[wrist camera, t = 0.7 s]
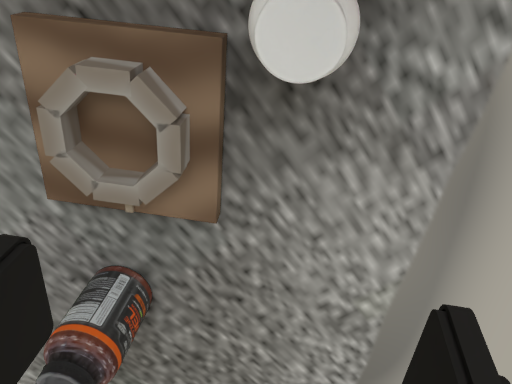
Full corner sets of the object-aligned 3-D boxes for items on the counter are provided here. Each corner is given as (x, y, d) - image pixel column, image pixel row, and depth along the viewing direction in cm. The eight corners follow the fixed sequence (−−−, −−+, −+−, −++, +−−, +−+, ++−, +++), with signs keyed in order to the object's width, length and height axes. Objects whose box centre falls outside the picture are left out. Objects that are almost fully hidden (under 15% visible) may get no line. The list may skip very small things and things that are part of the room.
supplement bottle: (159, 311, 42) (109, 422, 32) (103, 308, 43) (37, 415, 33) (147, 263, 39) (87, 369, 29) (87, 261, 40) (9, 363, 30)
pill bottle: (249, 23, 27) (214, 57, 19) (295, -62, 25) (278, -65, 16) (319, 68, 28) (316, 121, 20) (371, -8, 26) (393, 15, 17)
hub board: (24, 11, 29) (-13, 20, 26) (227, 33, 28) (214, 45, 25) (57, 189, 36) (31, 213, 33) (220, 213, 35) (209, 240, 32)
